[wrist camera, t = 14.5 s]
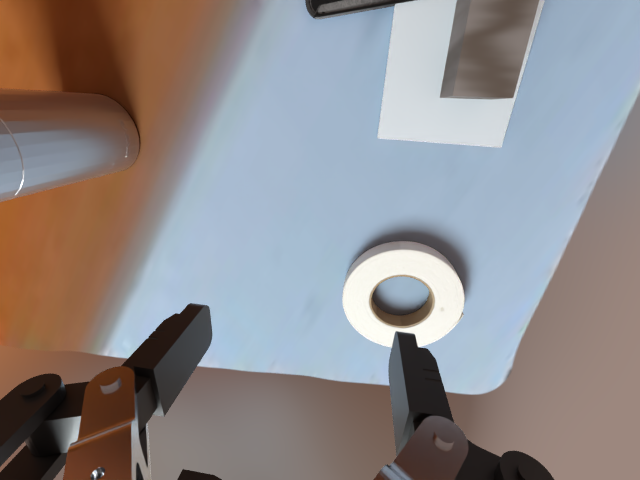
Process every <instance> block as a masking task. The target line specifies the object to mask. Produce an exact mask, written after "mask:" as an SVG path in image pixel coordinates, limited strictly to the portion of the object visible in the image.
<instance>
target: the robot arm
mask: <svg viewBox="0 0 640 480" xmlns="http://www.w3.org/2000/svg"><path fill="white" fill-rule="evenodd" d="M138 153H139V136H138V132H137V129H136V127H135V124H134V122H133V120H132V119H131V117H130V116H129V114H128V113H127V112H126V110H125V109H124V108H123V107H122V106H121V105H120V104H118V103H117V102H116V101H114V100H113V99H111V98H109V97H107V96H104V95H101V94H91V93H74V92H59V91H41V90H22V89H3V88H0V202H3V201H6V200H10V199H14V198H18V197H22V196H26V195H29V194H33V193H37V192H41V191H45V190H49V189H53V188H57V187H61V186H64V185H68V184H72V183H76V182H80V181H84V180H88V179H92V178H96V177H100V176H104V175H108V174H111V173H115V172H119V171H123V170H125V169H127V168H129V167H130V166H131V165H133V163H134V162H135V160H136V159H137V156H138ZM211 340H212V326H211V317H210V309H209V307H208V306H207V305H200V304H192V303H190V304H188V305H187V306H186V308H185V309H184V310H183V311H182V312H181V313H180V314H174V315H172V316H171V317H169V318H167V319H166V320H164V321H163V322H162V323H161V324H160V325H159V326H158V327H157V328H156V331H154V332H153V333H152V334H151V335H150V336H149V338H148V339H146V340H145V341H144V342H143V343H142V344H141V346H140V347H139V348H138V349H137V350H136V351H135V352H134V353H133V354H132V355H131V356H130V357H129V358H128V359H127V360H126V362H125V363H124V364H123V365H122V366H118V367H113V368H109V369H107V370H105V371H102V372H101V373H99V374H98V375H96V376H95V377H94V378H93V379H92V380H91V381H90V382H83V383H74V384H66V385H64V384H63V382H62V379H61V377H60V376H59V375H56V374H43V375H39V376H36V377H33V378H30V379H28V380H26V381H25V382H23V383H21V384H19V385H18V386H17V387H15V388H14V389H13V390H12V391H10V392H9V393H8V394H7V395H6V396H5V397H4V398H2V399H1V400H0V466H1V465H2V464H3V463H4V462H5V461H6V460H7V459H8V458H9V457H10V456H11V455H12V454H13V453H14V452H15V451H16V449H18V447H19V446H20V445H21V444H22V443H23V442H24V441H25V443H26V446H25V447H24V448H23V449H22V450H21V451H20V452H19V453H18V454H17V455H16V456H15V457H14V458H13V459H12V461H11V462H10V463H9V464H8V465H7V466H6V467H5V468H4V469H3V470H2V471H1V472H0V480H53V479H54V478H55V477H56V475H57V474H58V473H59V471H60V470H61V469H62V468H63V466H64V465H65V469H64V475H63V480H151V471H150V454H149V437H148V425H147V422H148V421H149V419H150V418H151V416H152V415H157V416H165V415H166V413H167V412H168V410H169V408H170V407H171V405H172V404H173V402H174V401H175V399H176V397H177V396H178V394H179V393H180V391H181V390H182V388H183V386H184V385H185V384H186V382H187V380H188V379H189V377H190V376H191V374H192V373H193V371H194V370H195V368H196V367H197V365H198V363H199V362H200V360H201V359H202V357H203V356H204V354H205V353H206V351H207V350H208V348H209V346H210V343H211ZM389 383H390V393H391V404H392V415H393V425H394V435H395V446H396V456H397V457H396V459H395V460H394V461H393V463H392V464H391V465H390V466H388V465H385V466H384V467H383V468H382V469H381V470H380V471H379V473H378V474H377V475H376V477H375V478H374V479H373V480H554V479H553V477H552V476H551V474H550V473H549V472H548V470H547V469H546V468H545V467H544V466H543V465H542V464H541V463H539V462H538V461H537V460H535V459H534V458H532V457H531V456H529V455H527V454H525V453H522V452H519V451H508V452H506V453H504V454H503V455H502V457H499V456H497V455H495V454H493V453H491V452H488V451H486V450H484V449H482V448H480V447H478V446H476V445H474V444H473V443H471V442H470V441H469V440H468V439H467V438H466V436H465V434H464V433H463V431H462V430H461V429H460V428H459V427H458V426H457V425H456V424H455V423H454V421H453V418H452V414H451V411H450V407H449V404H448V400H447V397H446V394H445V390H444V386H443V383H442V380H441V376H440V373H439V369H438V366H437V362H436V359H435V358H434V357H433V355H432V354H431V353H430V351H429V350H428V349H426V348H419V347H418V345H417V341H416V337H415V334H413V333H405V332H398V331H396V332H395V335H394V339H393V344H392V349H391V354H390V359H389ZM178 480H222V479H220V478H218V477H216V476H215V475H210V474H205V473H200V472H195V471H189V470H184V469H183V470H182V472H181V474H180V476H179V478H178Z"/></svg>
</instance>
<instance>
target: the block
mask: <svg viewBox="0 0 640 480" xmlns="http://www.w3.org/2000/svg"><path fill="white" fill-rule="evenodd" d="M538 4H539V0H457V2H456V8H455V14H454V19H453V25H452V31H451V36H450V42H449V48H448V53H447V59H446V64H445V70H444V76H443V81H442V87H441V93H440V98H459V99H489V100H492V99H507V98H513V97H514V93H515V90H516V86H517V82H518V78H519V75H520V71H521V67H522V64H523V60H524V56H525V52H526V49H527V45H528V41H529V37H530V34H531V30H532V26H533V22H534V19H535V15H536V11H537V7H538Z"/></svg>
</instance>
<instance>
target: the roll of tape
mask: <svg viewBox="0 0 640 480" xmlns="http://www.w3.org/2000/svg"><path fill="white" fill-rule="evenodd" d="M398 276H405V277H411V278H414V279H417V280H419V281H421V282H422V283H423V284H425V285H426V286H427V288H428V289H429V296H428V299H427V301H426V303H425V304H424V305H423V306H422V307H421V308H420V309H419V310H417V311H416V312H413V313H411V314H407V315H392V314H389V313H386V312H384V311H382V310H381V309H380V308H378V307H377V306H376V304H375V303H374V301H373V299H372V294H373V292H374V290H375V288H376V287H377V286H378V285H379V284H380V283H382V282H383V281H385V280H387V279H389V278H393V277H398ZM464 301H465V297H464V290H463V286H462V283H461V281H460V279H459V277H458V275H457V273H456V271H455V269H454V268H453V266H452V264H451V263H450V262H449V261H448V259H447V258H446V257H445V256H443V255H442V254H441V253H440V252H438V251H437V250H435V249H433V248H431V247H429V246H427V245H424V244H421V243H417V242H411V241H395V242H389V243H384V244H381V245H378V246H375V247H373V248H371V249H369V250H368V251H366V252H365V253H363V254H362V255H361V256H359V257H358V258H357V259H356V260H355V262H354V263H353V264H352V266H351V267H350V269H349V270H348V272H347V275H346V278H345V282H344V288H343V307H344V311H345V314H346V316H347V318H348V320H349V322H350V323H351V325H352V326H353V327H354V328H355V329H356V330H357V331H358V332H359V333H360V334H361V335H363V336H364V337H366V338H367V339H369V340H371V341H373V342H375V343H378V344H380V345H384V346H387V347H392V344H393V339H394V335H395V332H396V331H398V332H405V333H413V334H415V337H416V341H417V345H418V347H421V346H424V345H427V344H430V343H432V342H435V341H437V340H439V339H440V338H442V337H443V336H445V335H446V334H447V333H448V332H450V331H451V330H452V329H453V328H454V327H455V326H456V324H457V323H458V322H459V321H460V320H461V318H462V317H463V312H462V311H463V308H464Z"/></svg>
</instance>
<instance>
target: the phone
mask: <svg viewBox="0 0 640 480" xmlns="http://www.w3.org/2000/svg"><path fill="white" fill-rule="evenodd" d="M305 1H306V7H307V10H308V12H309V14H310V15H311V16H312V17H313V18H315V19H324V18H330V17H335V16H341V15H347V14H352V13H358V12H363V11H369V10H375V9H380V8H386V7H391V6H395V4H398V3H404V2H409V1H415V0H305Z"/></svg>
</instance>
